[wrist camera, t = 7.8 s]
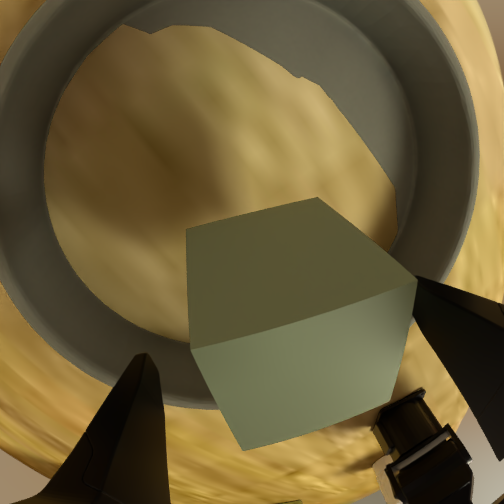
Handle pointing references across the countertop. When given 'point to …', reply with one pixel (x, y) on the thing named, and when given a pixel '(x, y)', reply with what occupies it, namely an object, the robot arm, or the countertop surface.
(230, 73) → the countertop surface
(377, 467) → the white cup
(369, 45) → the cake pan
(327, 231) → the olive block
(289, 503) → the protein box
